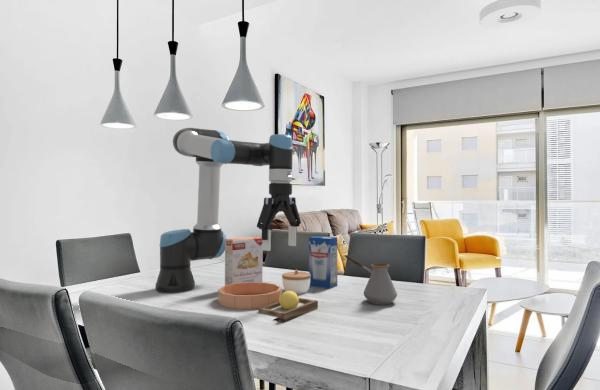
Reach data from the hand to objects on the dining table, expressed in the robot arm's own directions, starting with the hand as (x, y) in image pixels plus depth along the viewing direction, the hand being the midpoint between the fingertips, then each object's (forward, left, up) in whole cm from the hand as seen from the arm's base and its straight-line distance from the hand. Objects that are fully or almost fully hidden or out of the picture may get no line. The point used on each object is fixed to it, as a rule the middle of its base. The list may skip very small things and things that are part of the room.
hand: (279, 248), depth 132 cm
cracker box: (-26, +11, -20) cm, 35 cm away
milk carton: (-7, +38, -20) cm, 44 cm away
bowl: (-12, -1, -20) cm, 23 cm away
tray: (+4, -1, -20) cm, 20 cm away
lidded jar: (-7, +19, -20) cm, 29 cm away
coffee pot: (+18, +28, -20) cm, 39 cm away
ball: (+4, -1, -19) cm, 20 cm away
